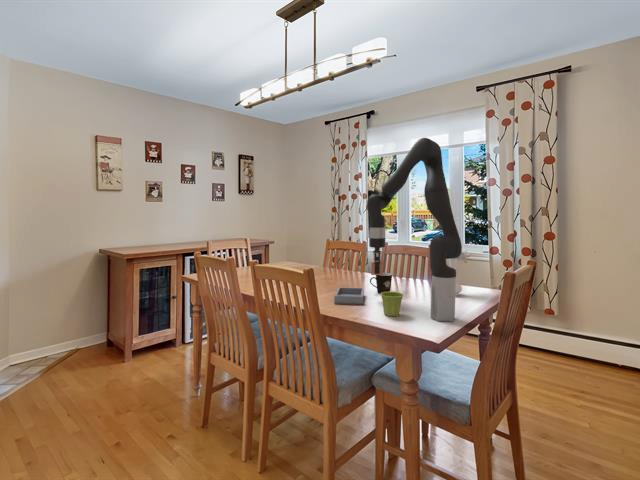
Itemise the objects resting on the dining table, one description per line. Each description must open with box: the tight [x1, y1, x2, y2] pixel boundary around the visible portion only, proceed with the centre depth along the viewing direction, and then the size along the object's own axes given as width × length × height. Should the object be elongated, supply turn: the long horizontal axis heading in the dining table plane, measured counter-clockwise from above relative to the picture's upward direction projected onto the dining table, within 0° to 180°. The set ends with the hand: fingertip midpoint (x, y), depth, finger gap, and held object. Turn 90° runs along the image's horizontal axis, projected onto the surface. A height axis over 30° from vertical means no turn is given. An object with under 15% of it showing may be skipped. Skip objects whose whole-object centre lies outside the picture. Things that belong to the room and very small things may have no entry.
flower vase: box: [448, 248, 472, 297], centre depth 181 cm, size 13×18×25 cm
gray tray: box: [333, 286, 365, 306], centre depth 172 cm, size 18×13×4 cm
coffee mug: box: [369, 272, 393, 295], centre depth 185 cm, size 12×9×10 cm
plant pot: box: [379, 291, 404, 317], centre depth 147 cm, size 9×9×9 cm
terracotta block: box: [370, 260, 384, 276], centre depth 168 cm, size 6×6×6 cm
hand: (377, 272), depth 169 cm, fingers closed on terracotta block, 5 cm apart
